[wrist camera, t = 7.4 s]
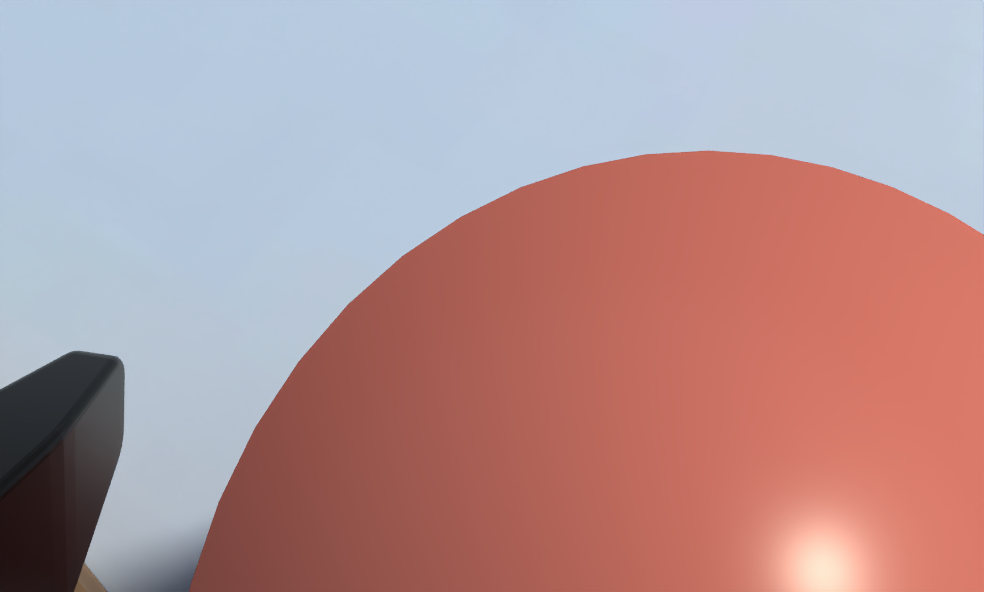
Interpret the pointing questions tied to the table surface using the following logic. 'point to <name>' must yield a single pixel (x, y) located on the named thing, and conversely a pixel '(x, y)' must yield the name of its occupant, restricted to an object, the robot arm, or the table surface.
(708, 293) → the red plug
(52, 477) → the robot arm
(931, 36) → the table surface
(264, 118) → the table surface
